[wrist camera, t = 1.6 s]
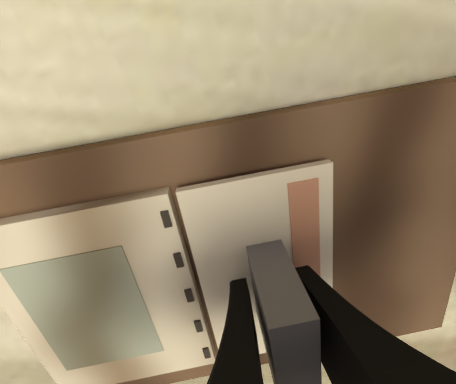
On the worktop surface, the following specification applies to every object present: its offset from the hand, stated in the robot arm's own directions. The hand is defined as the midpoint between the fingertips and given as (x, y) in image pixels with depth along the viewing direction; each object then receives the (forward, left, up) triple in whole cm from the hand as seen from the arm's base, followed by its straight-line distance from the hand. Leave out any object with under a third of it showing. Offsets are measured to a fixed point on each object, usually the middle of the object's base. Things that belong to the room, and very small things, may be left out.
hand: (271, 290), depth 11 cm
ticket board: (+1, 0, -2) cm, 3 cm away
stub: (0, 0, -1) cm, 1 cm away
